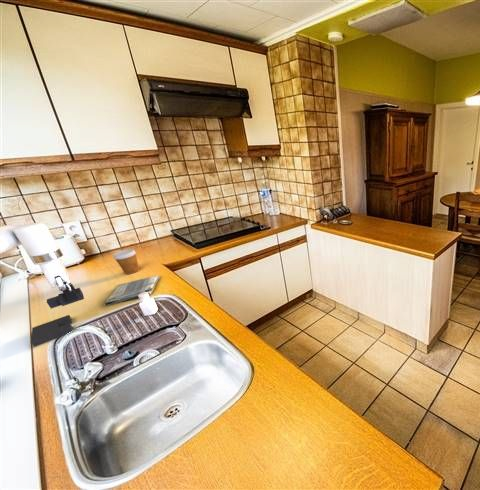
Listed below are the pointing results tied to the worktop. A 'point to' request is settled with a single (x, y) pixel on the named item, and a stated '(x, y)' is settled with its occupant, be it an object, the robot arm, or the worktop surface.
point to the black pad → (60, 300)
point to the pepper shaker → (147, 304)
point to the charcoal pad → (51, 330)
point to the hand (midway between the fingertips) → (71, 296)
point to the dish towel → (132, 290)
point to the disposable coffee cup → (127, 261)
